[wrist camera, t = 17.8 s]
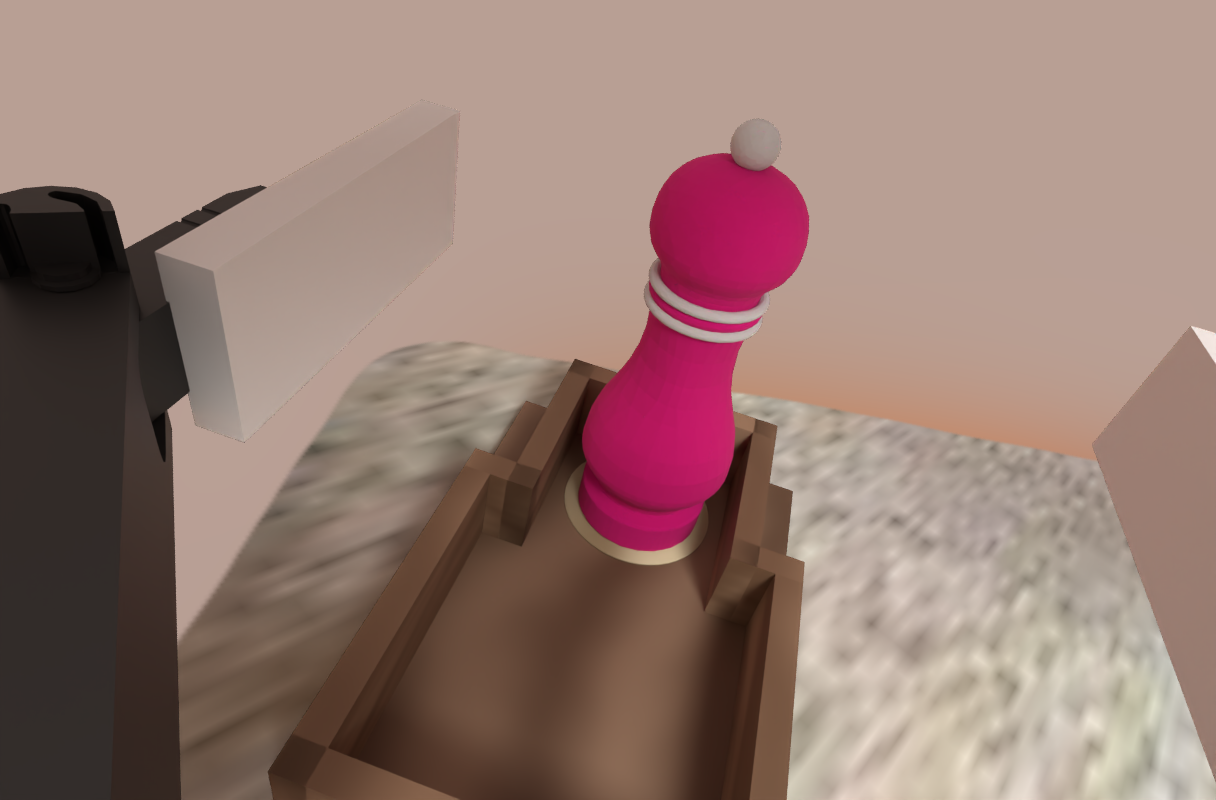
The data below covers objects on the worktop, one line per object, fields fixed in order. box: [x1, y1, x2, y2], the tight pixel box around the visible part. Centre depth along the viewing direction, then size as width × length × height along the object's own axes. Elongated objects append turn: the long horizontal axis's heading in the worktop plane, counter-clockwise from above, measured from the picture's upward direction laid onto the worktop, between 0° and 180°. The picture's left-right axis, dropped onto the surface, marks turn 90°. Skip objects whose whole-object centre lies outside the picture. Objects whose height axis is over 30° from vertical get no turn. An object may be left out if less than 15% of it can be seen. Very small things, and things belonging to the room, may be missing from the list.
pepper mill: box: [578, 119, 809, 551], centre depth 32 cm, size 7×7×20 cm
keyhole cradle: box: [268, 359, 805, 800], centre depth 32 cm, size 16×24×5 cm, turn 164°
